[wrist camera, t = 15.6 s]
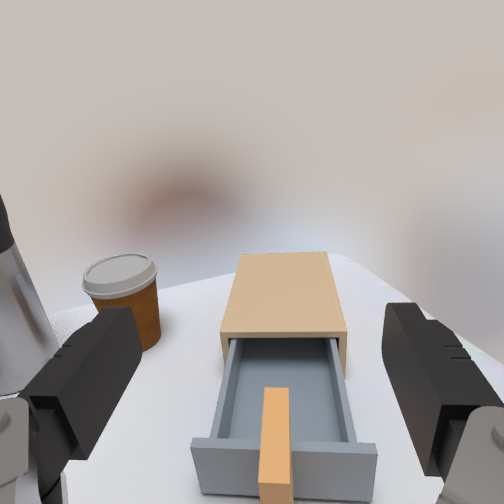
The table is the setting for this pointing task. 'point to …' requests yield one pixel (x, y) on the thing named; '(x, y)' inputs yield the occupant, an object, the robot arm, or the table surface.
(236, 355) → the grey box
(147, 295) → the disposable coffee cup
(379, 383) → the table surface
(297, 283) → the box lid
